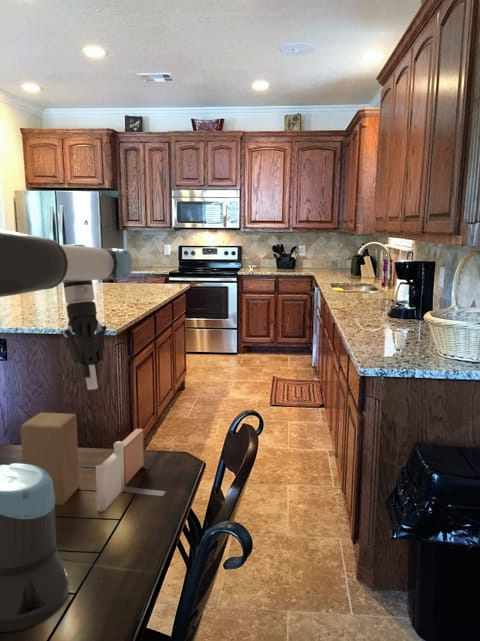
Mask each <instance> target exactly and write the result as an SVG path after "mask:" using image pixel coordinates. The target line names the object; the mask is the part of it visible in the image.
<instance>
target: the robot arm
mask: <svg viewBox="0 0 480 641" xmlns="http://www.w3.org/2000/svg"><path fill="white" fill-rule="evenodd" d="M132 259H133V258H132V255H131V253H130V251H129V250H128V249H125V248H117V247H115V248H105V247H95V246H94V247H93V246H86V245H84V244H77V243H74V244H73V243H72V244H60V243H59V242H58V241H56V240H54V239H52V238H50V237H41V236H39V235H38V236H36V235H33V234H26V233H23V232H18V231H13V230H7V229H2V228H0V298H1V297H3V298H4V297H9V296H10V297H11V296H16V295H22V294H27V293H32V292H33V293H34V292H38V291H43V290H50V289H53V288H56V287H58V286H59V285H60V284H61V283H62V284H63V291H64V297H65V298H64V300H65V303H67V305H66V313H67V317H68V325H67V327H66V328H65V329H63V330H61V331H60V334H61V335H62V337H63V338H64V339H65V341H66V344H67V347H68V350H69V353H70V355H71V359H72V361H73V363H74V364H75V365H79V367H81V370H82V377H83V378H84V379H85V381H86V388H87V389H86V390H97V389H98V388H99V387H98V379H97V376H99V369H98V364H99V363H100V362H102V361H103V359H104V349H105V348H104V347H105V346H104V345H105V333H106V332H107V325H102V324H100V323H99V320H98V319H97V315H98V314H97V313H98V312H97V307H96V306H97V305H96V302H94V300H95V291H94V286H93V281H96V280H98V281H99V280H101V281H102V280H116V281H118V280H127V279H129V277H130V276H131V274H132V272H133V270H132V269H133V260H132ZM74 335H75V336H74ZM55 507H56V505H55V494H54V489H53V482H52V479H51V477H50V476H49V474H48V473H47V472H46V471H45V470H43V469H42V468H40V467H37V466H35V465H31V464H24V463H23V462H11V463H10V464H0V632H1V633H3V632H4V633H6V632H7V633H8V632H16V631H21V630H25V629H28V628H30V627H34V626H35V625H38V624H40V623H43V622H44V621H45V620H47V619H49V618H51V616H53V615H54V614H55V613H57V612H58V611H59V610H60V609H61V608H62V607H63V606H64V604H65V602H66V601H67V599H68V597H69V591H70V587H69V585H70V584H69V583H70V582H69V575H68V573H67V571H66V569H65V567H64V565H63V562H62V559H61V557H60V554H59V553H58V550H57V531H56V528H57V527H56V508H55Z"/></svg>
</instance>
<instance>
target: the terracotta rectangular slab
mask: <svg viewBox="0 0 480 641" xmlns="http://www.w3.org/2000/svg"><path fill="white" fill-rule="evenodd" d="M121 442H123V444H124V449H123V452H124V486H126V485H127V484H128V483H129V482H130V480H132V479H133V478H134V476H135V475H136V474H137V473H138V472H139V470H140V469H141V468H143V466H144V428H136V429H134V430H133V431H132V432H131V433H130V434H129V435H128V436H127V437H126V438H124V440H122V441H121Z"/></svg>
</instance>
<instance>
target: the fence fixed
mask: <svg viewBox="0 0 480 641" xmlns="http://www.w3.org/2000/svg"><path fill="white" fill-rule="evenodd" d="M123 449H124V444H123V442H122V441H120V440H118V441H115V442H114V443H113V450H114V452H113V453H112V454H111V455H110V456H109V457H107V458H106V459H105V460H104V461H103V462H102V463H100V464H97V465H96V466H95V482H96V483H95V485H96V510H97V512H104V511H106V510H107V509H106V508H107V507H108V506H109V505H110V504H111V503H112V501H113V500H114V499H115V498H116V497H117V496H118V495H119V493H120V492H121V491H122V490H124V486H125V485H124V452H123ZM119 496H120V495H119ZM119 496H118V497H119ZM118 497H117V498H118ZM117 498H116V499H117ZM112 504H113V503H112ZM112 504H111V505H112ZM111 505H110V506H111Z"/></svg>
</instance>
